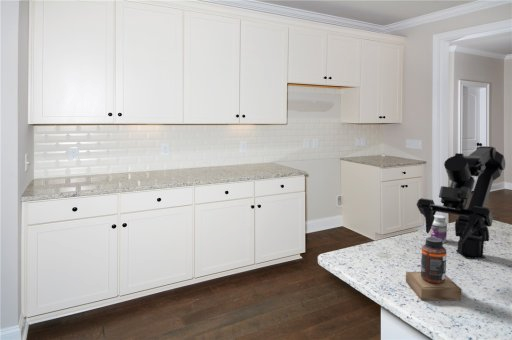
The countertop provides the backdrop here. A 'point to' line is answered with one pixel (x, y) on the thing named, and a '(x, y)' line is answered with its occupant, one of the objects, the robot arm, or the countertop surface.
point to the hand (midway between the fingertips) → (444, 236)
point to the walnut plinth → (433, 288)
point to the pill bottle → (439, 227)
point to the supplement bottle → (433, 260)
